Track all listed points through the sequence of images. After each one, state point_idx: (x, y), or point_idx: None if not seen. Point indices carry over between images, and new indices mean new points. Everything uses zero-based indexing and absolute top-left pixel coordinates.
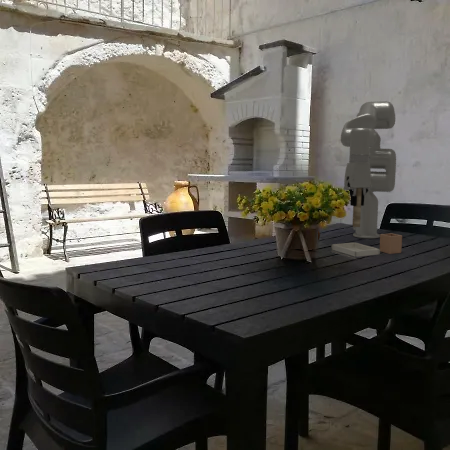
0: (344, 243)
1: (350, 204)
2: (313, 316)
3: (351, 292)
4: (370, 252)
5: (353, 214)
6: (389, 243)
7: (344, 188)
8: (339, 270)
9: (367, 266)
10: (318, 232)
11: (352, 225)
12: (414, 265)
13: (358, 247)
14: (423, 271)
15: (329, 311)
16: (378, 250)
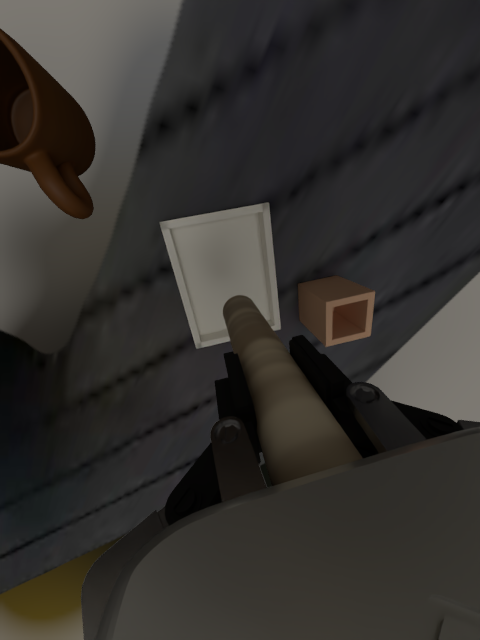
0: (219, 214)
1: (224, 357)
2: (17, 585)
3: (95, 523)
4: None
5: (230, 339)
6: (315, 333)
7: (94, 594)
8: (114, 425)
9: (192, 401)
10: (72, 214)
11: (223, 308)
12: None
13: (262, 236)
14: None
15: (42, 573)
16: (274, 329)
